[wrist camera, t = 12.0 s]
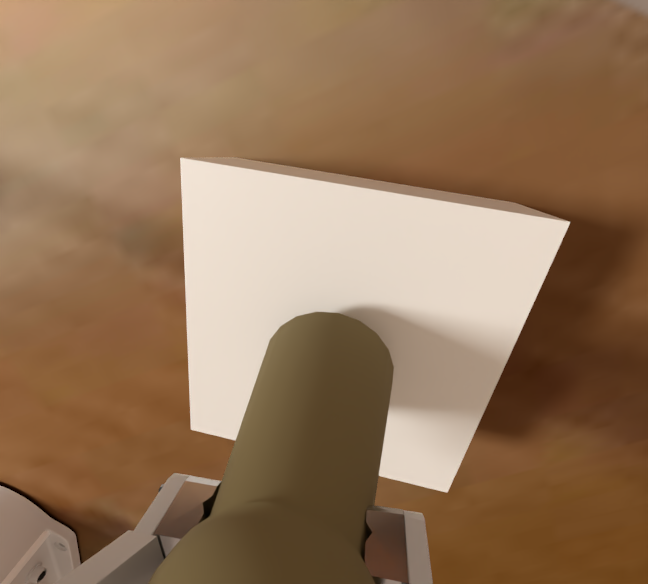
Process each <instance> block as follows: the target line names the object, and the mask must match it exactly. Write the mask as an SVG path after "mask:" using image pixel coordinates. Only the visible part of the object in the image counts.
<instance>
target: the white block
mask: <svg viewBox="0 0 648 584" xmlns="http://www.w3.org/2000/svg"><path fill="white" fill-rule="evenodd" d="M180 161H181V187H182V213H183V239H184V264H185V290H186V316H187V341H188V367H189V393H190V418H191V430H195V431H199V432H203V433H207V434H211V435H215V436H219V437H223V438H227V439H232V440H236V438H237V435H238V432H239V429H240V426H241V423H242V420H243V417H244V414H245V411H246V408H247V406H248V403H249V400H250V397H251V394H252V391H253V388H254V385H255V382H256V379H257V376H258V373H259V370H260V367H261V364H262V361H263V358H264V356H265V353H266V350H267V347H268V344H269V341H270V339H271V338H272V336H273V335H274V334H275V333H276V331H277V330H278V329H279V327H280V326H282V325H283V324H285V323H286V322H288V321H290V320H291V319H293V318H295V317H296V316H300V315H304V314H308V313H313V312H331V313H340V314H343V315H346V316H348V317H351V318H354V319H357V320H359V321H361V322H362V323H363V324H365V325H366V326H368V327H369V328H370V329H372V330H373V331H374V332H376V333H377V334H378V336H379V337H380V338H381V340H382V341H383V342H384V344H385V345H386V346H387V348H388V349H389V352H390V356H391V359H392V363H393V366H394V371H393V382H392V390H391V396H390V403H389V410H388V416H387V423H386V430H385V436H384V443H383V450H382V456H381V463H380V470H379V476H382V477H386V478H390V479H394V480H398V481H402V482H406V483H410V484H414V485H418V486H422V487H426V488H431V489H435V490H439V491H443V492H448V490H449V488H450V486H451V484H452V481H453V479H454V477H455V475H456V473H457V470H458V468H459V466H460V464H461V462H462V459H463V457H464V455H465V453H466V451H467V448H468V446H469V444H470V442H471V440H472V437H473V435H474V433H475V431H476V429H477V426H478V424H479V422H480V420H481V418H482V415H483V413H484V411H485V409H486V407H487V404H488V402H489V400H490V398H491V396H492V393H493V391H494V389H495V387H496V385H497V383H498V380H499V378H500V376H501V374H502V372H503V369H504V367H505V365H506V363H507V361H508V358H509V356H510V354H511V352H512V350H513V347H514V345H515V343H516V341H517V339H518V336H519V334H520V332H521V330H522V328H523V325H524V323H525V321H526V319H527V317H528V314H529V312H530V310H531V308H532V306H533V303H534V301H535V299H536V297H537V295H538V292H539V290H540V288H541V286H542V284H543V282H544V279H545V277H546V275H547V273H548V271H549V268H550V266H551V264H552V262H553V260H554V257H555V255H556V253H557V251H558V249H559V246H560V244H561V242H562V240H563V238H564V235H565V233H566V231H567V229H568V227H569V224H570V222H569V221H566V220H563V219H560V218H558V217H555V216H552V215H549V214H546V213H543V212H540V211H537V210H535V209H532V208H529V207H526V206H523V205H520V204H517V203H514V202H508V201H501V200H495V199H489V198H483V197H477V196H471V195H464V194H458V193H452V192H446V191H440V190H434V189H427V188H421V187H415V186H409V185H403V184H397V183H390V182H384V181H378V180H372V179H366V178H360V177H353V176H347V175H341V174H335V173H329V172H323V171H316V170H310V169H304V168H298V167H292V166H285V165H279V164H273V163H267V162H261V161H255V160H248V159H242V158H236V157H208V158H180Z"/></svg>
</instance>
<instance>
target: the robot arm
mask: <svg viewBox="0 0 648 584" xmlns="http://www.w3.org/2000/svg"><path fill="white" fill-rule="evenodd" d="M221 482H222V481H218V480H212V479H206V478H200V477H194V476H190V475H184V474H177V473H174V474H173V475H172V476H171V477H169V478H168V480H167V481H166V483H165V484H164V486H163V487H162V489H161V490H160V492H159V493H158V495H157V496H156V498H155V499H154V501H153V502H152V504H151V505H150V507H149V508H148V510H147V511H146V513H145V514H144V516H143V517H142V519H141V520H140V522H139V523H138V525H137V526H136V528H135V530H134V531H130V530H128V531H127V532H125V533H124V534H123V535H121V536H120V537H119V538H117V539H116V540H114V541H113V542H112V543H110V544H109V545H107V546H106V547H105V548H103V549H102V550H100V551H99V552H98V553H96V554H95V555H93V556H92V557H91V558H89V559H88V560H86V561H85V562H84V563H82V564H81V563H80V557H79V551H78V545H77V539H76V535H75V533H74V532H73V531H72V530H71V529H69V528H68V527H66V526H64V525H63V524H61V523H59V522H57V521H56V520H54V519H52V518H51V517H49V516H48V515H47V514H46V513H45V512H43V511H42V510H41V509H40V508H39V507H37V506H36V505H35V504H33V503H32V502H31V501H29V500H28V499H26V498H24V497H23V496H21V495H19V494H18V493H16V492H14V491H12V490H10V489H8V488H5V487H3V486H0V584H148V583H149V581H150V579H151V577H152V575H153V574H154V572H155V570H156V569H157V568H158V566H159V565H160V564H161V563H162V561H163V560H164V559H165V558H166V557H167V555H168V554H169V553H170V552H171V550H172V549H173V548H174V547H175V545H176V544H177V543H178V542H179V541H180V540H181V539H182V538H183V537H184V536H185V535H186V534H187V533H188V532H189V531H190V530H191V529H192V528H193V527H194V526H196V525H197V524H199V523H201V522H202V521H204V520H205V519H207V518H208V517H210V514H211V511H212V508H213V506H214V503H215V500H216V497H217V494H218V491H219V488H220V485H221ZM366 532H367V537H368V539H367V540H366V542H365V549H364V563H365V565H366V566H367V568H368V570H369V572H370V574H371V576H372V578H373V580H374V582H375V584H433V581H432V573H431V566H430V558H429V550H428V542H427V534H426V526H425V519H424V516H423V514H422V513H418V512H411V511H404V510H402V509H395V508H388V507H381V506H374V505H368V507H367V510H366Z"/></svg>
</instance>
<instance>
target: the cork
mask: <svg viewBox="0 0 648 584" xmlns="http://www.w3.org/2000/svg"><path fill="white" fill-rule="evenodd" d="M393 371H394V366H393V363H392V359H391V356H390V352H389V349H388V348H387V346H386V345H385V344H384V342H383V341H382V340H381V338H380V337H379V336H378V334H377V333H376V332H374V331H373V330H372V329H370V328H369V327H368V326H366V325H365V324H363V323H362V322H361V321H359V320H357V319H354V318H351V317H348V316H346V315H343V314H340V313H331V312H313V313H308V314H304V315H300V316H296V317H295V318H293V319H291V320H290V321H288V322H286V323H285V324H283V325H282V326H280V327H279V329H278V330H277V331H276V333H275V334H274V335H273V336H272V338H271V339H270V341H269V344H268V347H267V350H266V353H265V356H264V358H263V361H262V364H261V367H260V370H259V373H258V376H257V379H256V382H255V385H254V388H253V391H252V394H251V397H250V400H249V403H248V406H247V408H246V411H245V414H244V417H243V420H242V423H241V426H240V429H239V432H238V435H237V438H236V441H235V444H234V447H233V450H232V453H231V456H230V458H229V461H228V464H227V467H226V470H225V473H224V476H223V479H222V482H221V485H220V488H219V491H218V494H217V497H216V500H215V503H214V506H213V508H212V511H211V514H210V517H208V518H207V519H205V520H204V521H202V522H201V523H199V524H197V525H196V526H194V527H193V528H192V529H191V530H190V531H189V532H188V533H187V534H186V535H185V536H184V537H183V538H182V539H181V540H180V541H179V542H178V543H177V544H176V545H175V547H174V548H173V549H172V550H171V552H170V553H169V554H168V555H167V557H166V558H165V559H164V560H163V561H162V563H161V564H160V565H159V566H158V568H157V569H156V570H155V572H154V574H153V575H152V577H151V579H150V581H149V583H148V584H375V582H374V580H373V578H372V576H371V574H370V572H369V570H368V568H367V566H366V565H365V563H364V549H365V542H366V540H367V539H368V537H367V532H366V510H367V507H368V505H374V503H375V496H376V490H377V483H378V476H379V470H380V463H381V456H382V450H383V443H384V436H385V430H386V423H387V416H388V410H389V403H390V396H391V390H392V382H393Z"/></svg>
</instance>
